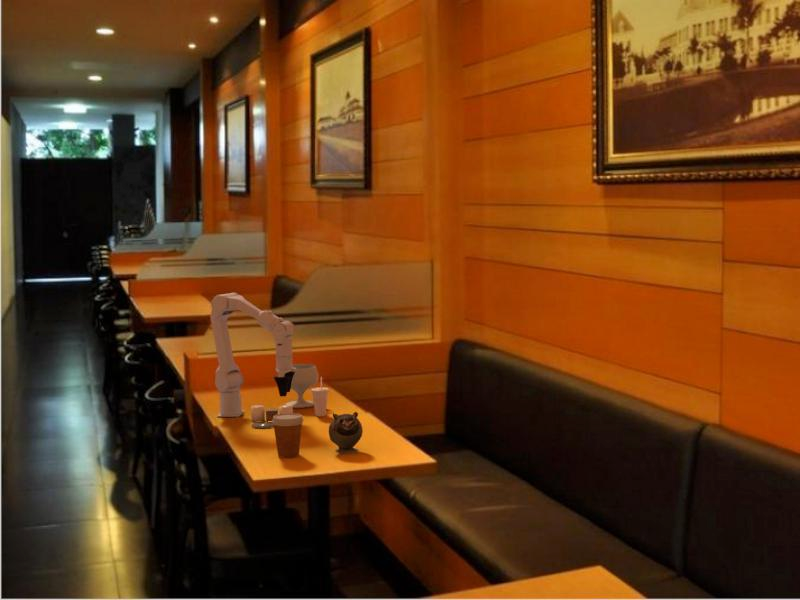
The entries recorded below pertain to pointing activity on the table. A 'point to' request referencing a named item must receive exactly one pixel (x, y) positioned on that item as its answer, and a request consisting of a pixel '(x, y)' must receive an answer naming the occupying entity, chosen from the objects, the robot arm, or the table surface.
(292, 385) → the chalice
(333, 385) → the table surface
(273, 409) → the walnut block
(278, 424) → the disposable coffee cup
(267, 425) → the slate coaster
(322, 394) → the smoothie
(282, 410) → the cream small rounded lump
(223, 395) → the robot arm
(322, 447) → the table surface
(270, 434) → the table surface
